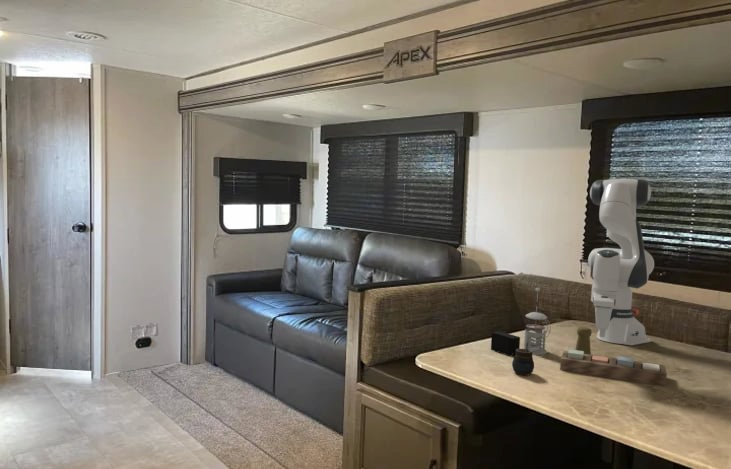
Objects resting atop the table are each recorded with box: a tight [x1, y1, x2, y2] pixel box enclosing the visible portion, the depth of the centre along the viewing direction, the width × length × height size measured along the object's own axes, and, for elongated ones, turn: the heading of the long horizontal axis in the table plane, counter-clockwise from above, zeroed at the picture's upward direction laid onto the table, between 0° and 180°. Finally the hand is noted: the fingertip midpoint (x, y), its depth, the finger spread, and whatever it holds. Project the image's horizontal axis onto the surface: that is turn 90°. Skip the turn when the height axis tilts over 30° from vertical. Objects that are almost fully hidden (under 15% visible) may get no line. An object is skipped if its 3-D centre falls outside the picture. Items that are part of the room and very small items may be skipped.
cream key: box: [642, 362, 660, 371], centre depth 195 cm, size 5×5×2 cm
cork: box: [574, 326, 592, 355], centre depth 220 cm, size 6×6×11 cm
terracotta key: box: [592, 354, 609, 363], centre depth 202 cm, size 5×5×2 cm
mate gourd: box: [511, 342, 535, 376], centre depth 196 cm, size 7×8×10 cm
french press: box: [521, 287, 552, 356], centre depth 224 cm, size 10×12×25 cm
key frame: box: [559, 350, 668, 387], centre depth 200 cm, size 33×11×4 cm, turn 66°
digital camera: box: [490, 330, 521, 357], centre depth 222 cm, size 10×5×7 cm, turn 37°
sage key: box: [568, 348, 584, 360], centre depth 205 cm, size 5×5×2 cm
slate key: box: [616, 355, 634, 367], centre depth 198 cm, size 5×5×2 cm
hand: (602, 336), depth 201 cm, fingers closed
